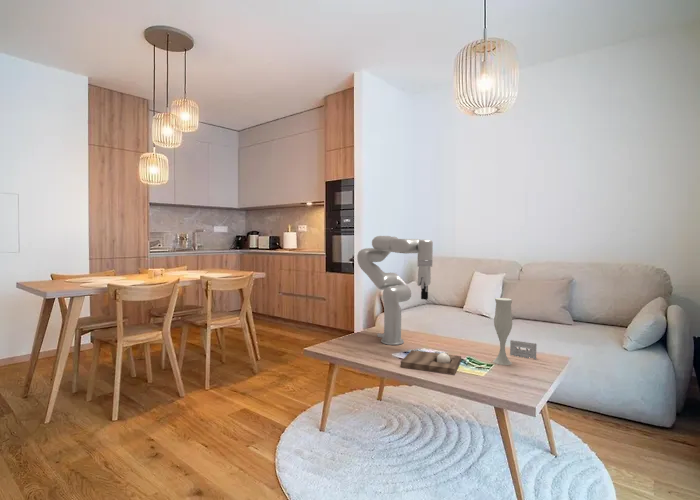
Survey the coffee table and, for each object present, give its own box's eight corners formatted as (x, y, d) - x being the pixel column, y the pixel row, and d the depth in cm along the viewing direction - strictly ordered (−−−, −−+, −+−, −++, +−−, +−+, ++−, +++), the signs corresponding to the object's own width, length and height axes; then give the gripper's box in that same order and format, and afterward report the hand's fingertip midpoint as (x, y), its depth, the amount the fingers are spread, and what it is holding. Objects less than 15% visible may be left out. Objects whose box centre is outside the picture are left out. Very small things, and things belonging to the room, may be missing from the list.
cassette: (509, 355, 198) (510, 340, 198) (510, 354, 199) (510, 339, 199) (535, 359, 191) (536, 344, 191) (536, 358, 193) (536, 343, 192)
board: (400, 367, 179) (400, 361, 179) (411, 355, 197) (411, 350, 197) (454, 374, 169) (454, 368, 169) (461, 361, 188) (461, 356, 188)
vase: (488, 360, 189) (489, 298, 188) (502, 358, 193) (503, 297, 192) (502, 366, 181) (503, 301, 180) (516, 363, 185) (517, 300, 184)
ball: (451, 361, 176) (441, 370, 178) (454, 359, 181) (444, 367, 183) (442, 351, 178) (432, 359, 180) (445, 349, 183) (435, 357, 185)
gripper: (421, 262, 211) (420, 296, 211) (414, 264, 197) (413, 300, 198) (435, 263, 208) (434, 297, 208) (429, 264, 194) (428, 301, 195)
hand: (424, 299), depth 203 cm, fingers closed
